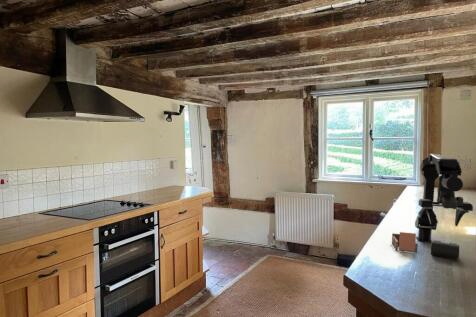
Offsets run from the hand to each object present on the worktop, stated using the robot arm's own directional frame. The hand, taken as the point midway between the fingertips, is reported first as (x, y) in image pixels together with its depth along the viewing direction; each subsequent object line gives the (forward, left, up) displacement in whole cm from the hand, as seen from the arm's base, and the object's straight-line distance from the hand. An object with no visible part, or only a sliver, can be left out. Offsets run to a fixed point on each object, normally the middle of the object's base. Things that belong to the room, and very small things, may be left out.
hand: (443, 224), depth 139 cm
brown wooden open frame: (-10, -13, -15) cm, 22 cm away
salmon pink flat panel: (-5, -13, -14) cm, 19 cm away
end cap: (-2, +2, -15) cm, 15 cm away
